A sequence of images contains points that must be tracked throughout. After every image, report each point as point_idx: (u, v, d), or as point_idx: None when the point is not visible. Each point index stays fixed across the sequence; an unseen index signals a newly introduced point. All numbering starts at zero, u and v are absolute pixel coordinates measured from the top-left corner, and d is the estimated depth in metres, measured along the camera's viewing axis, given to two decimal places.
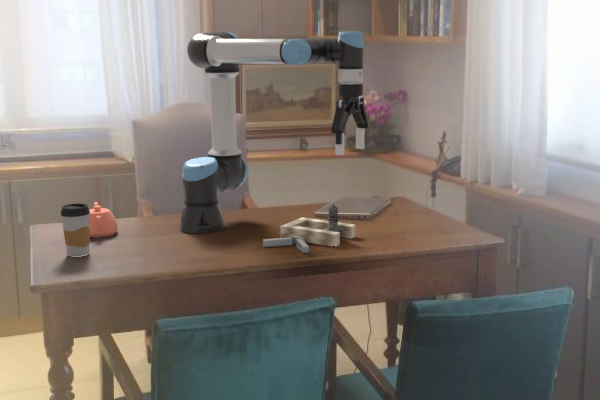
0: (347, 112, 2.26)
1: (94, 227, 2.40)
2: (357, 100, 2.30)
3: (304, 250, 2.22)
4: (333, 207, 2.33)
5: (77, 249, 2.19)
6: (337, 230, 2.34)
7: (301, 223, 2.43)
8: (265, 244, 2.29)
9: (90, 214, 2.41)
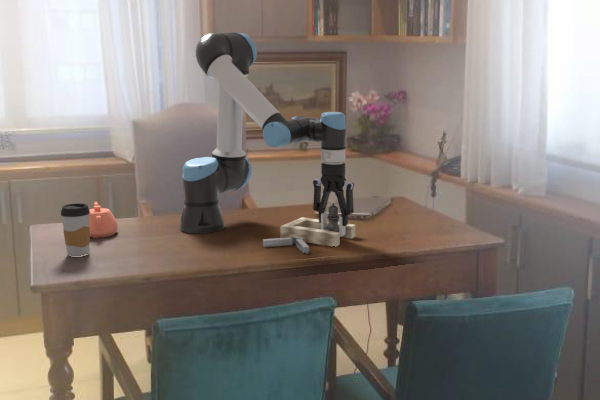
0: None
1: (94, 227, 2.40)
2: (339, 180, 2.30)
3: (304, 250, 2.22)
4: (333, 207, 2.33)
5: (77, 249, 2.19)
6: (337, 230, 2.34)
7: (301, 223, 2.43)
8: (265, 244, 2.29)
9: (90, 214, 2.41)
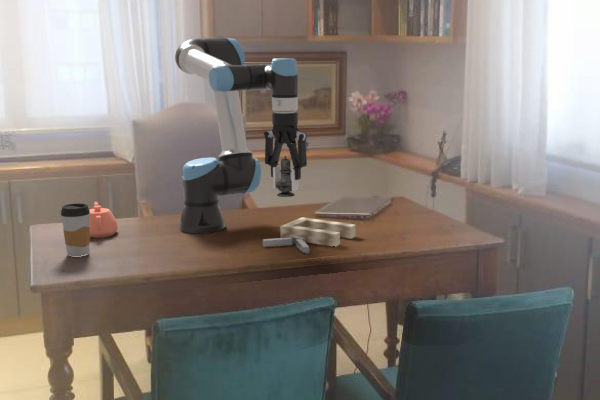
0: None
1: (94, 227, 2.40)
2: (290, 130, 2.17)
3: (304, 250, 2.22)
4: (285, 160, 2.20)
5: (77, 249, 2.19)
6: (289, 184, 2.20)
7: (301, 223, 2.43)
8: (265, 244, 2.29)
9: (90, 214, 2.41)
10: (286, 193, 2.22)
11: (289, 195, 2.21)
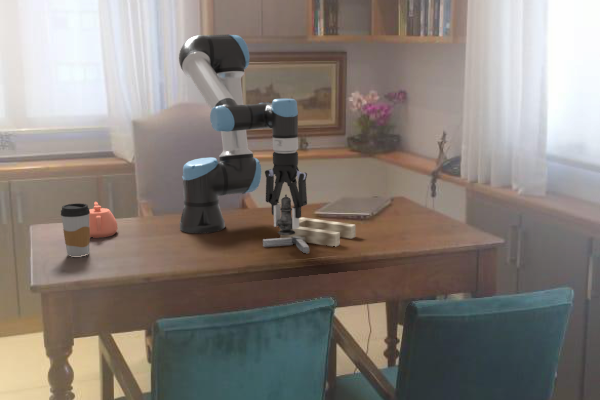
0: None
1: (94, 227, 2.40)
2: (291, 170, 2.19)
3: (304, 250, 2.22)
4: (286, 198, 2.23)
5: (77, 249, 2.19)
6: (290, 222, 2.23)
7: (301, 223, 2.43)
8: (265, 244, 2.29)
9: (90, 214, 2.41)
10: (287, 231, 2.25)
11: (290, 233, 2.24)
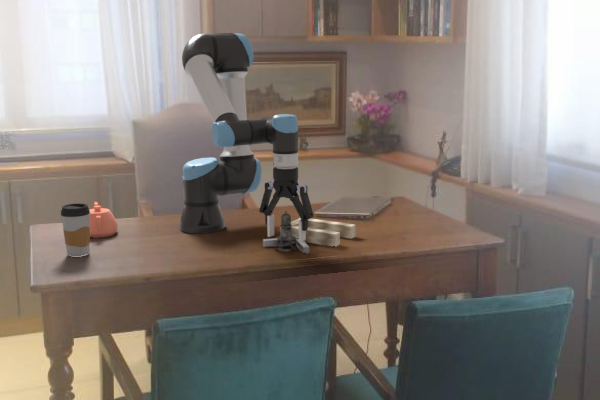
0: None
1: (94, 227, 2.40)
2: (291, 186, 2.20)
3: (304, 250, 2.22)
4: (286, 215, 2.24)
5: (77, 249, 2.19)
6: (290, 239, 2.24)
7: None
8: (265, 244, 2.29)
9: (90, 214, 2.41)
10: (286, 247, 2.26)
11: (289, 249, 2.25)
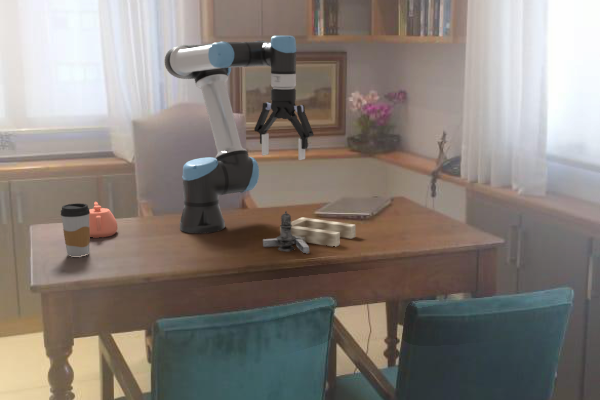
0: None
1: (94, 227, 2.40)
2: (288, 106, 2.24)
3: (304, 250, 2.22)
4: (286, 215, 2.24)
5: (77, 249, 2.19)
6: (290, 239, 2.24)
7: (301, 223, 2.43)
8: (265, 244, 2.29)
9: (90, 214, 2.41)
10: (286, 247, 2.26)
11: (289, 249, 2.25)
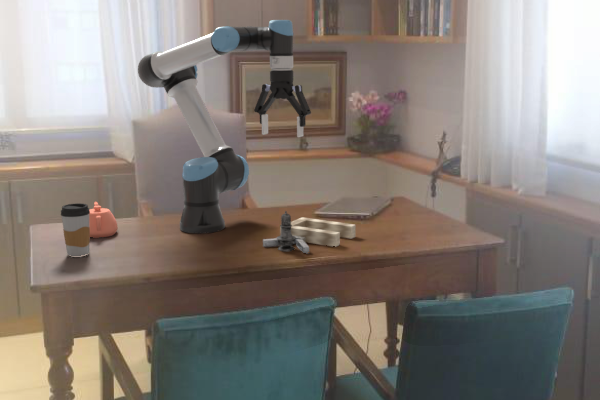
0: None
1: (94, 227, 2.40)
2: (286, 87, 2.37)
3: (304, 250, 2.22)
4: (286, 215, 2.24)
5: (77, 249, 2.19)
6: (290, 239, 2.24)
7: (301, 223, 2.43)
8: (265, 244, 2.29)
9: (90, 214, 2.41)
10: (286, 247, 2.26)
11: (289, 249, 2.25)
